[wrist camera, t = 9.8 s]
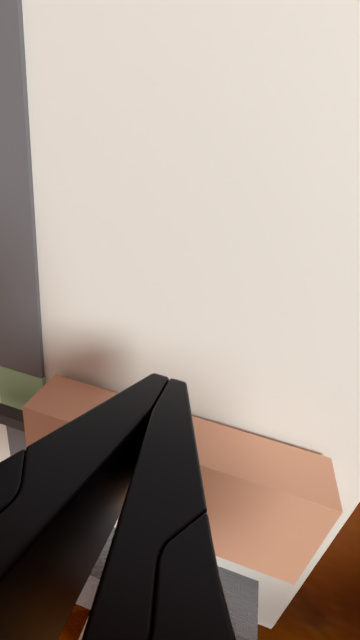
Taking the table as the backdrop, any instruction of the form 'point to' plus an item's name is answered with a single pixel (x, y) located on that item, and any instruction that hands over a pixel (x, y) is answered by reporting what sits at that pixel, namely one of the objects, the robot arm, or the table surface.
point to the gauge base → (188, 223)
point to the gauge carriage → (226, 482)
